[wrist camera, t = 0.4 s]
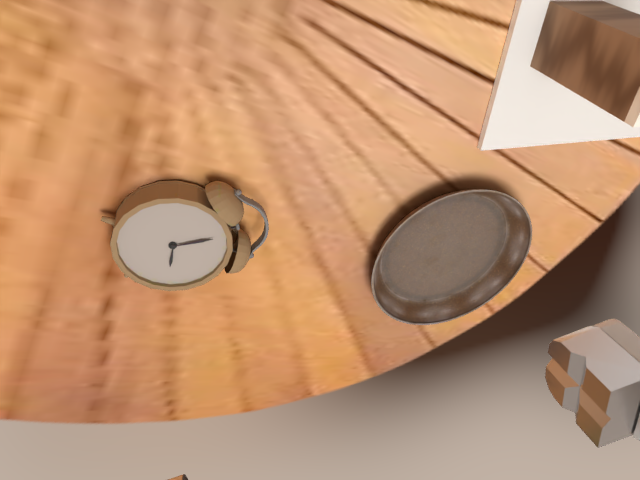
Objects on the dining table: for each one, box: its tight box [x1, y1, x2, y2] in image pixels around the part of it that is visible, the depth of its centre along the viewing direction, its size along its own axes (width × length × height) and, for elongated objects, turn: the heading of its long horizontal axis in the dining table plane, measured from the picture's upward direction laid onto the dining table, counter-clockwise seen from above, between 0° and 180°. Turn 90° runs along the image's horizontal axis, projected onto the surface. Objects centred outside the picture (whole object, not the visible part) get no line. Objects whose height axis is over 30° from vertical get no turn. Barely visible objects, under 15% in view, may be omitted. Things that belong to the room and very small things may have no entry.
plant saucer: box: [371, 189, 532, 325], centre depth 64 cm, size 21×21×3 cm
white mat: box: [477, 0, 640, 150], centre depth 53 cm, size 24×24×1 cm
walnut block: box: [530, 1, 640, 127], centre depth 46 cm, size 6×6×14 cm
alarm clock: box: [101, 180, 269, 291], centre depth 52 cm, size 11×5×15 cm
